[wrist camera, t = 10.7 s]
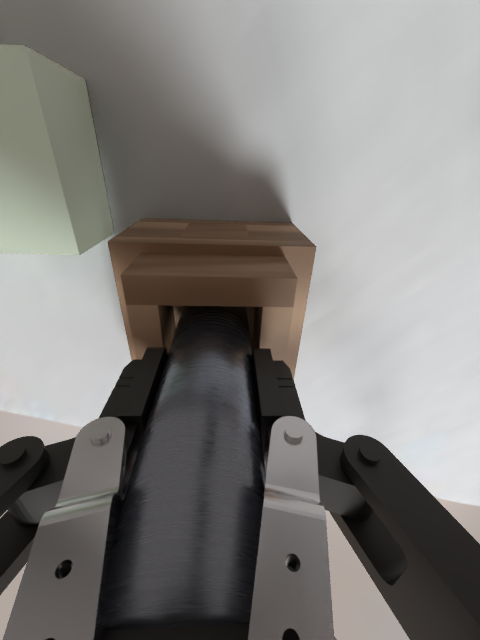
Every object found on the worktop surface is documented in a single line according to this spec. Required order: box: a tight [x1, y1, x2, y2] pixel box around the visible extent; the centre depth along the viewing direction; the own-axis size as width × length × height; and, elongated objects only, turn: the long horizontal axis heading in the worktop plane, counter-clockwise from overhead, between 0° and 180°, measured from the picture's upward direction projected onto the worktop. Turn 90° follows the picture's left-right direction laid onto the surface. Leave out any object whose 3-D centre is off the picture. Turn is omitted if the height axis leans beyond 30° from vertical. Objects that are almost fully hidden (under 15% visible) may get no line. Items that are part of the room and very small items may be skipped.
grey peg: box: [101, 306, 266, 630], centre depth 10 cm, size 4×4×12 cm
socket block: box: [108, 219, 316, 380], centre depth 18 cm, size 12×10×9 cm
